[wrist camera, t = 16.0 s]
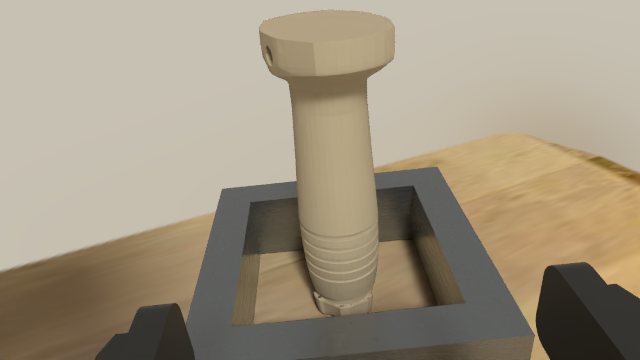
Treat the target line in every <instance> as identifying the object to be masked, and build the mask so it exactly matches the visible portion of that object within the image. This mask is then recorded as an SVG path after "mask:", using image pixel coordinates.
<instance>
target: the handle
mask: <svg viewBox="0 0 640 360" xmlns="http://www.w3.org/2000/svg"><path fill="white" fill-rule="evenodd" d="M259 33H260V43H261V49H262V55H263V58H264V60H265V62H266V64H267V66H268V69H269V71H270V72H271V73H272V74H273V75H275V76H277V77H279V78H282V79H284V80H286V81H287V82H288V84H289V89H290V97H291V103H292V115H293V128H294V129H293V130H294V144H295V158H296V176H297V193H298V210H299V220H300V229H301V236H302V242H303V248H304V252H305V258H306V262H307V267H308V271H309V274H310V278H311V281H312V284H313V286H314V288H315V289H316V291H315V292H314V296H315V300H316V303H317V306H318V308H319V310H320V311H321V312H322V313H324V314H330V315H333V316H335V317H336V316H345V315H355V314H365V313H368V312H369V311H370V309H371V306H372V297H373V295H372V289H373V284H374V281H375V276H376V271H377V261H378V207H377V197H376V187H375V178H374V168H373V158H372V148H371V137H370V126H369V115H368V104H367V78H368V77H369V76H371V75H372V74H374V73H376V72H377V71H379V70H381V69H382V68H383V67H384V66H386V65H387V64H388V63H389V62H391V61H392V60H393V59H394V52H395V27H394V25H393V23H392V22H391V20H390V19H388V18H386V17H383V16H380V15H376V14H372V13H367V12H359V11H344V10H321V11H311V12H303V13H297V14H290V15H285V16H280V17H276V18H272V19H268V20H265V21H263V22H262V24H261V25H260V27H259Z"/></svg>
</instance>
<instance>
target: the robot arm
mask: <svg viewBox="0 0 640 360" xmlns="http://www.w3.org/2000/svg"><path fill="white" fill-rule="evenodd" d="M536 328H537V333H538V336H539V339H540V342H541V344H542V346H543V348H544V349H545V351H546V353H547V355H548V356H549V358H550V360H640V299H639V298H638V297H636V296H635V295H633V294H632V293H630V292H628V291H627V290H625V289H624V288H622V287H621V286H619V285H617V284H610V285H607V284H606V282H605V281H604V280H603V279H602V278H601V277H600V275H599V274H598V273H597V272H596V271H595V270H594V269H593V267H592V266H591V265H589V264H588V263H585V262H580V263H570V264H561V265H551V266H548V267H547V268H546V269H545V271H544V276H543V281H542V286H541V292H540V297H539V302H538V308H537V313H536ZM95 360H195V355H194V350H193V347H192V344H191V341H190V338H189V334H188V331H187V328H186V325H185V322H184V319H183V316H182V313H181V310H180V307H179V306H178V304H176V303H172V304H163V305H153V306H143V307H140V308H139V309H138V311H137V313H136V315H135V317H134V320H133V322H132V325H131V327H130V330H129V332H128V333H124V334H116V335H115V336H114V337H113V338H112V339H111V340H110V341H109V342H108V343H107V345H106V346H105V347H104V348H103V349H102V350H101V351H100V352H99V353H98V355H97V356H96V358H95Z"/></svg>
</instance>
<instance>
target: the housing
mask: <svg viewBox="0 0 640 360" xmlns="http://www.w3.org/2000/svg"><path fill="white" fill-rule="evenodd" d="M374 178H375V187H376V197H377V207H378V242H381V241H391V240H401V239H411V238H413V240H414V242H415V245H416V248H417V250H418V253H419V256H420V259H421V261H422V264H423V267H424V269H425V272H426V275H427V277H428V280H429V283H430V285H431V288H432V291H433V293H434V296H435V299H436V301H437V304H438V306H434V307H424V308H414V309H404V310H394V311H385V312H375V313H365V314H355V315H345V316H336V317H326V318H316V319H306V320H296V321H287V322H277V323H267V324H257V325H253V322H254V312H255V302H256V292H257V282H258V273H259V263H260V254H264V253H274V252H284V251H293V250H303V249H304V248H303V242H302V236H301V229H300V220H299V210H298V193H297V181H295V182H285V183H275V184H266V185H256V186H247V187H238V188H237V187H236V188H227V189H222V192H221V195H220V199H219V203H218V207H217V210H216V214H215V218H214V221H213V225H212V229H211V233H210V236H209V240H208V244H207V248H206V251H205V255H204V259H203V263H202V266H201V270H200V274H199V277H198V281H197V285H196V289H195V292H194V296H193V300H192V304H191V307H190V311H189V315H188V319H187V322H186V328H187V331H188V334H189V338H190V341H191V344H192V347H193V350H194V355H195V360H530V357H531V352H532V347H533V342H534V337H535V335H534V333H533V331H532V330H531V328H530V326H529V324H528V323H527V321H526V319H525V317H524V316H523V314H522V312H521V311H520V309H519V307H518V305H517V304H516V302H515V300H514V298H513V297H512V295H511V293H510V292H509V290H508V288H507V286H506V285H505V283H504V281H503V279H502V278H501V276H500V274H499V273H498V271H497V269H496V267H495V266H494V264H493V262H492V260H491V259H490V257H489V255H488V254H487V252H486V250H485V248H484V247H483V245H482V243H481V241H480V240H479V238H478V236H477V235H476V233H475V231H474V229H473V228H472V226H471V224H470V222H469V221H468V219H467V217H466V216H465V214H464V212H463V210H462V209H461V207H460V205H459V203H458V202H457V200H456V198H455V197H454V195H453V193H452V191H451V190H450V188H449V186H448V184H447V183H446V181H445V179H444V178H443V176H442V174H441V172H440V171H439V169H438V167H431V168H421V169H412V170H402V171H392V172H382V173H374Z"/></svg>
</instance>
